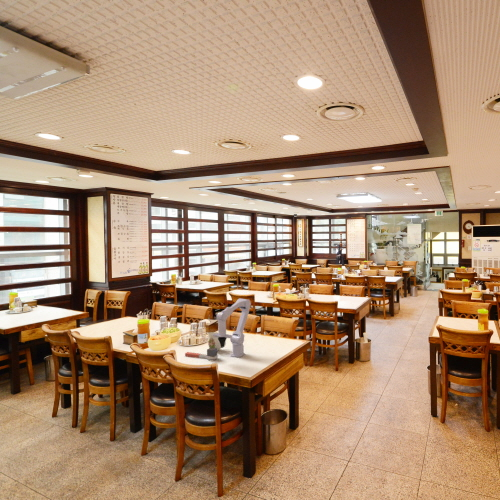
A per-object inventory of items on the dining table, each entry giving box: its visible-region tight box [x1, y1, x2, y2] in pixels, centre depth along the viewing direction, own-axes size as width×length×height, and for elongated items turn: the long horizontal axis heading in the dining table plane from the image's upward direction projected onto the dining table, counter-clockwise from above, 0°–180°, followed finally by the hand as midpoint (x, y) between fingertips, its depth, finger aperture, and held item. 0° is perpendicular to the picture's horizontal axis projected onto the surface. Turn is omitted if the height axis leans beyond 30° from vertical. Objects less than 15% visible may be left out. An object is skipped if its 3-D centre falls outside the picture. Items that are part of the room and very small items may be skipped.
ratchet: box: [184, 351, 218, 361], centre depth 264 cm, size 27×8×6 cm, turn 67°
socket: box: [206, 347, 218, 357], centre depth 261 cm, size 6×6×5 cm
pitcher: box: [205, 331, 227, 352], centre depth 281 cm, size 11×18×14 cm, turn 66°
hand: (222, 347), depth 255 cm, fingers closed
